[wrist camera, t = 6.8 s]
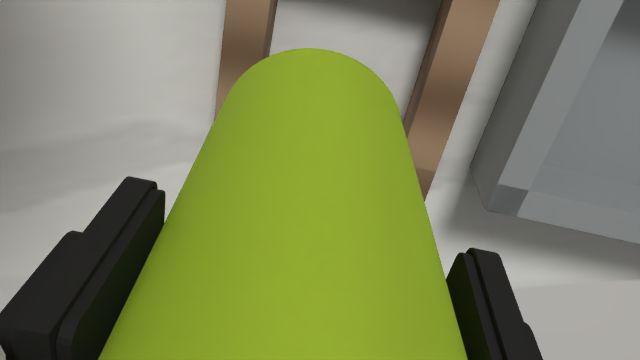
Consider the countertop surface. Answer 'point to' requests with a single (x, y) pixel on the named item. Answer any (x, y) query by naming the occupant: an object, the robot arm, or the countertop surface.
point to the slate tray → (569, 122)
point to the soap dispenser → (296, 232)
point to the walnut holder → (431, 86)
